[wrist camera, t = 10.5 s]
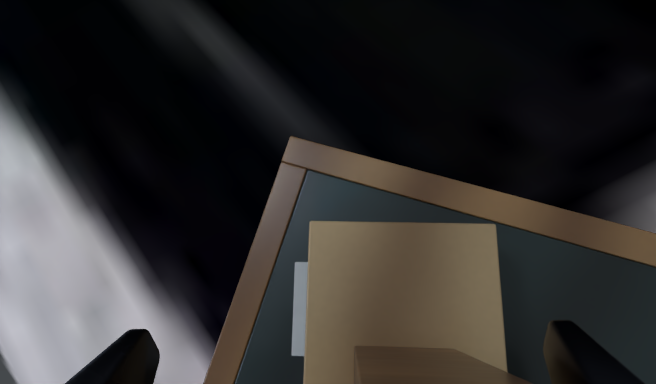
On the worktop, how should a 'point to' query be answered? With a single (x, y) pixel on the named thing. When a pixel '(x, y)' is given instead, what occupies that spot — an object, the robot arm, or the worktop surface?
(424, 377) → the eraser
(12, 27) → the worktop surface
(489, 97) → the worktop surface
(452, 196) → the chalkboard
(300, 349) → the light grey rectangular bar
